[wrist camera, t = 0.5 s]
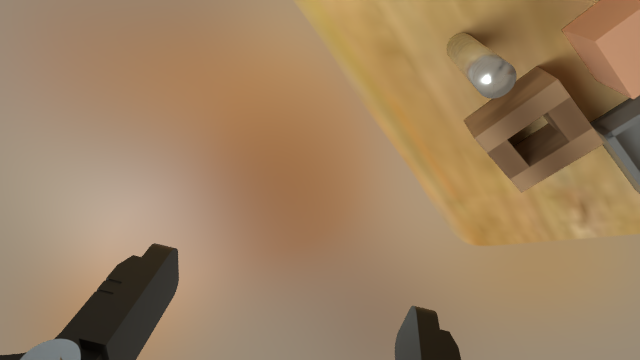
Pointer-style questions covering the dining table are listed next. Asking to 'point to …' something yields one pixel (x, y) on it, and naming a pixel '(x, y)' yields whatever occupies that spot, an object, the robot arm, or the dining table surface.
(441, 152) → the dining table surface
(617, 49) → the block
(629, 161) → the tray
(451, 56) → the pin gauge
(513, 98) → the go block
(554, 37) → the dining table surface
